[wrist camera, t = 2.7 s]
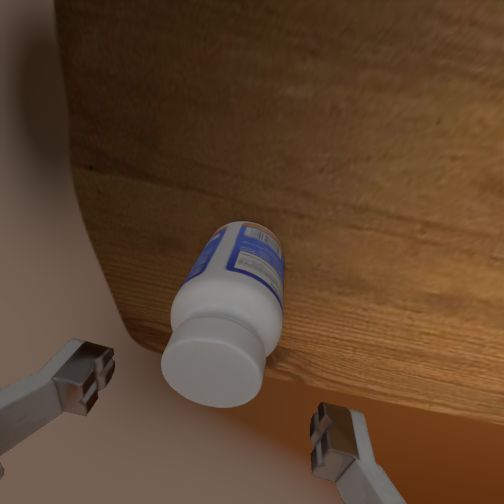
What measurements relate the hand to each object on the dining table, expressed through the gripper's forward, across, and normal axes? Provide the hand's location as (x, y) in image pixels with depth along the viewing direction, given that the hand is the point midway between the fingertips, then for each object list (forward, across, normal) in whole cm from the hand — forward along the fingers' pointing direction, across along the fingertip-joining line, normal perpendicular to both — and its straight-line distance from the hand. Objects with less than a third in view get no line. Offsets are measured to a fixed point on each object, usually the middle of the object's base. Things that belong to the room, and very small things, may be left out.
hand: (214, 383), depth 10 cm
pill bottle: (+10, 0, 0) cm, 10 cm away
